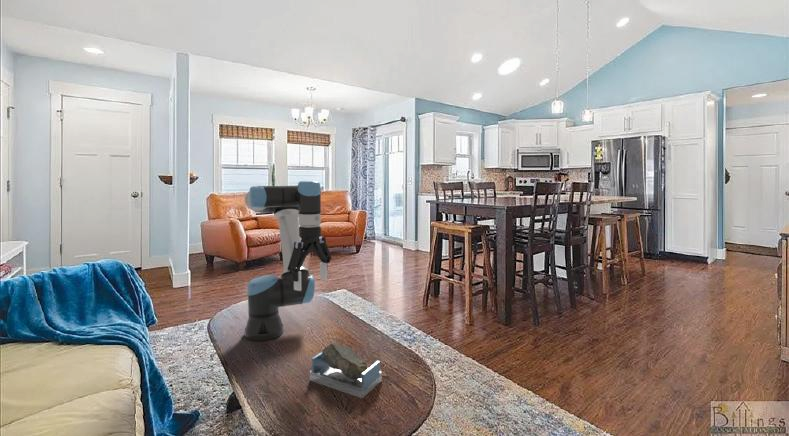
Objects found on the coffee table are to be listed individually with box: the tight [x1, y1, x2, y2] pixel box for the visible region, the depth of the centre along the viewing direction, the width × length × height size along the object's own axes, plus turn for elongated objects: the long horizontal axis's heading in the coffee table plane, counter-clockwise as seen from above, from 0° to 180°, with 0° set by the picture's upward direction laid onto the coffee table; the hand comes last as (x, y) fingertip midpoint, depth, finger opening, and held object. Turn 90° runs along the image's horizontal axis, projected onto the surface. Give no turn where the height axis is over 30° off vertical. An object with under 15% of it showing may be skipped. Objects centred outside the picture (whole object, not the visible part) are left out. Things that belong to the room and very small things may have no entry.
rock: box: [321, 342, 369, 380], centre depth 122 cm, size 17×7×10 cm
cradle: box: [309, 351, 383, 399], centre depth 122 cm, size 20×11×7 cm, turn 61°
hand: (311, 285), depth 136 cm, fingers open, 13 cm apart
